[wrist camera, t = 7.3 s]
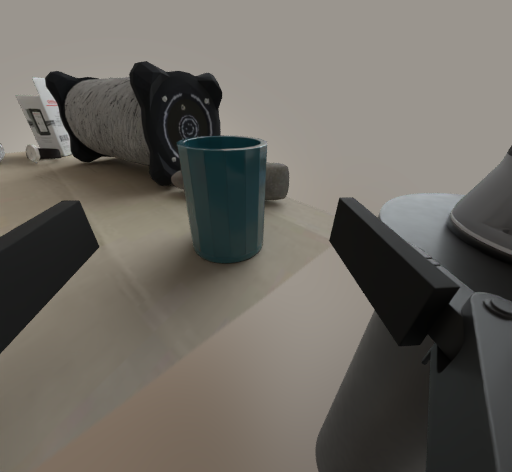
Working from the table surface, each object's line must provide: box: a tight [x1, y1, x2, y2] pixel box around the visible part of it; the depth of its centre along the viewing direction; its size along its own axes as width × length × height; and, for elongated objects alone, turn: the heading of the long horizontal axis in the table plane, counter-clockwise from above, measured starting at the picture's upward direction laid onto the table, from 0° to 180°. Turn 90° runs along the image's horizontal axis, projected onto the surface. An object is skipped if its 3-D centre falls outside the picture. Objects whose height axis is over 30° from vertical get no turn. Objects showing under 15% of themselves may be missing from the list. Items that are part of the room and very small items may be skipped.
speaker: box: [45, 61, 222, 186], centre depth 39 cm, size 15×28×15 cm, turn 57°
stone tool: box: [171, 162, 289, 200], centre depth 30 cm, size 17×4×5 cm, turn 82°
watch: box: [26, 144, 61, 163], centre depth 45 cm, size 8×5×4 cm, turn 70°
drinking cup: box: [176, 135, 267, 263], centre depth 19 cm, size 7×7×9 cm
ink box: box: [16, 77, 72, 156], centre depth 49 cm, size 8×5×15 cm, turn 2°
